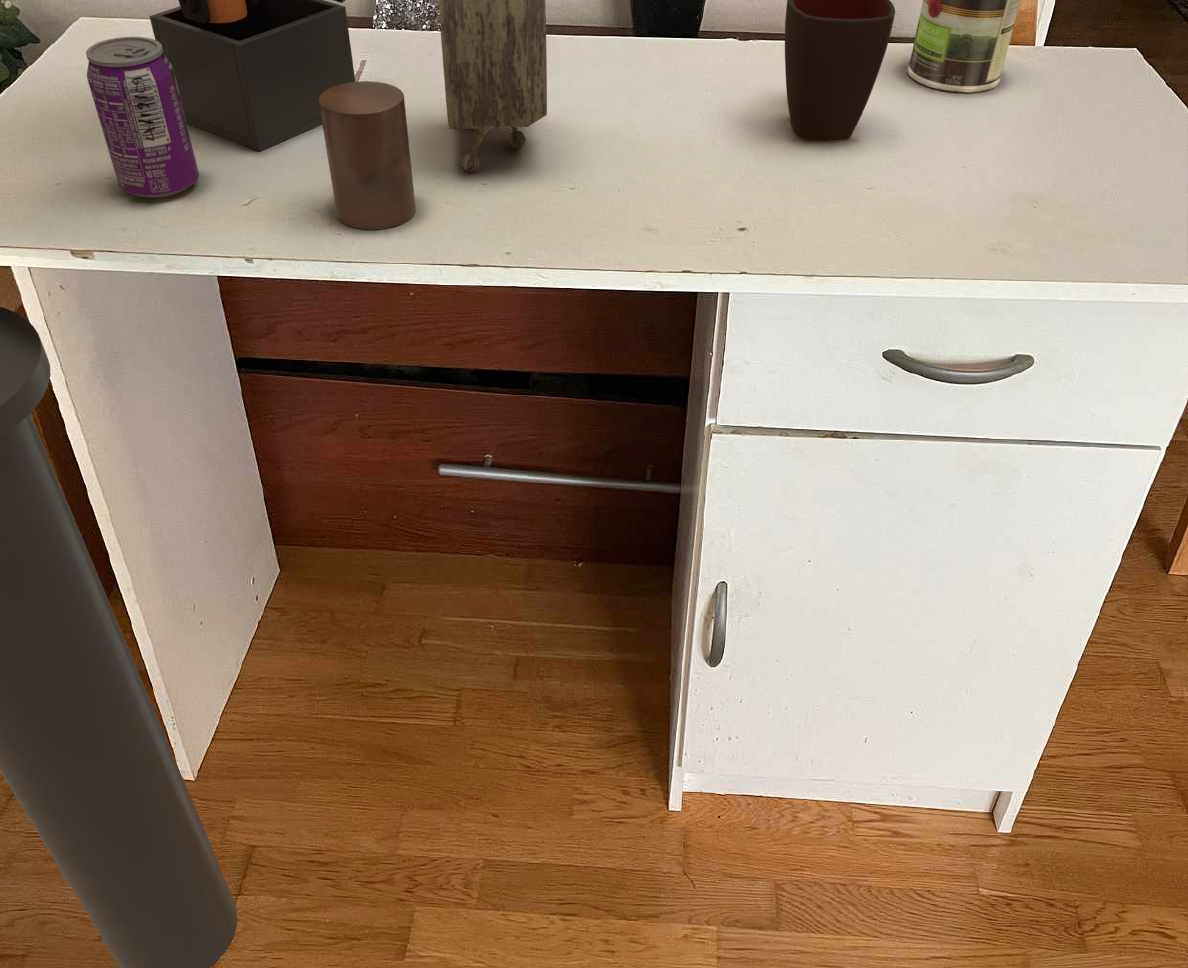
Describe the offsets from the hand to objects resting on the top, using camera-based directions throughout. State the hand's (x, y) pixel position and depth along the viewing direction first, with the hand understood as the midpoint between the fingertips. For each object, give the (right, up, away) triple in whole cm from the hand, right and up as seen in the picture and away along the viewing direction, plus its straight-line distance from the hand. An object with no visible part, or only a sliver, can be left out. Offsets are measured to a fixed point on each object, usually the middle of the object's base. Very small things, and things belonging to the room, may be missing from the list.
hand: (221, 10), depth 105 cm
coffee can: (+76, +3, +19) cm, 78 cm away
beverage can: (-5, -18, -3) cm, 19 cm away
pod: (0, 0, 0) cm, 1 cm away
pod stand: (+16, -21, -6) cm, 27 cm away
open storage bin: (+2, -6, +9) cm, 11 cm away
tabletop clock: (+26, -12, +4) cm, 29 cm away
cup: (+58, -7, +10) cm, 60 cm away
